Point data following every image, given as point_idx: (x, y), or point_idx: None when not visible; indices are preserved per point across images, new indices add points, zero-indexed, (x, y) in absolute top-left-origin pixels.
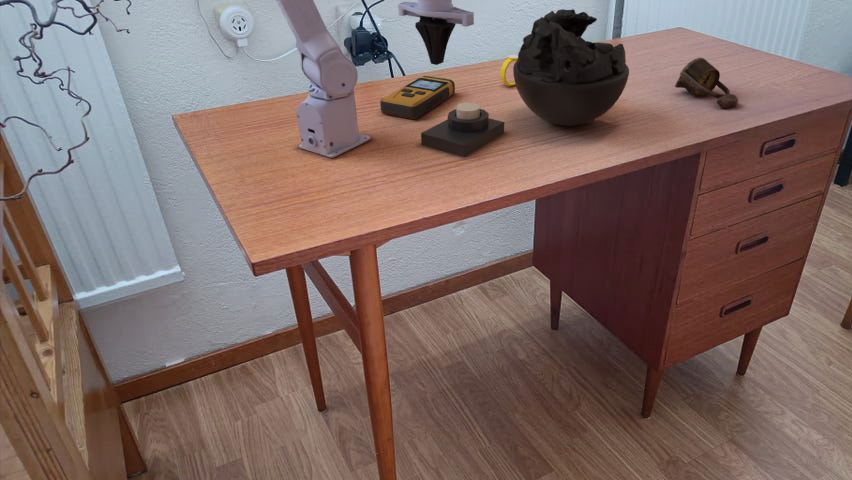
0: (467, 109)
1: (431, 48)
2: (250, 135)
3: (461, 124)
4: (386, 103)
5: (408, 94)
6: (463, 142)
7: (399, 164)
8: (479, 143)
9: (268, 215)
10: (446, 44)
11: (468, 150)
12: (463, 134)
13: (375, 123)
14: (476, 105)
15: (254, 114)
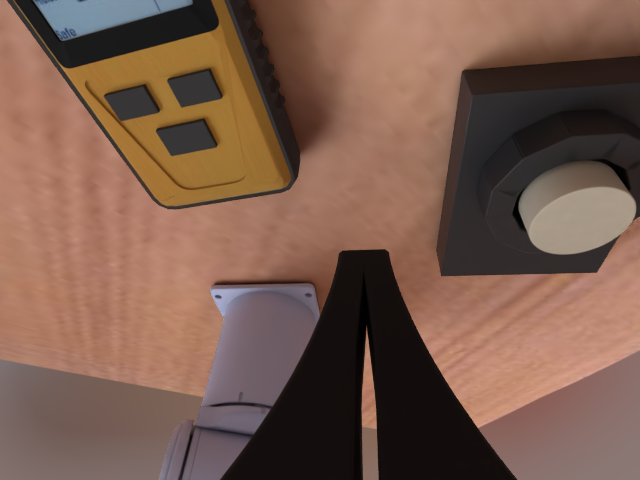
0: (587, 240)
1: (362, 378)
2: (131, 347)
3: None
4: (192, 205)
5: (189, 140)
6: (588, 265)
7: (449, 314)
8: None
9: None
10: (419, 342)
11: None
12: None
13: (229, 222)
14: (614, 198)
15: (14, 307)
